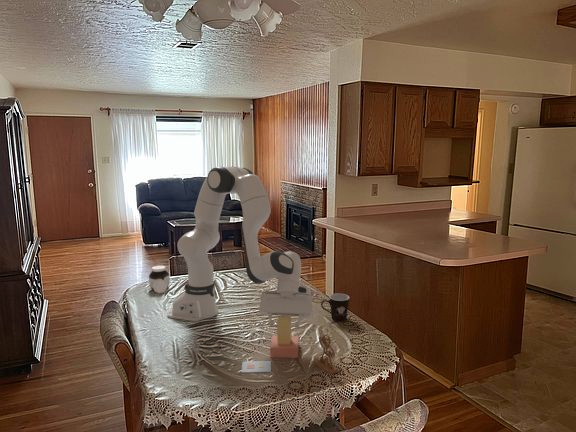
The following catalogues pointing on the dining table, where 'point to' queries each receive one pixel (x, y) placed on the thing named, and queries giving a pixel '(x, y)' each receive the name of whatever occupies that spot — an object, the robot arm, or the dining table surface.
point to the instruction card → (256, 366)
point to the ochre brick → (284, 330)
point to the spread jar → (159, 279)
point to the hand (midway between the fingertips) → (284, 326)
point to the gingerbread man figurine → (322, 362)
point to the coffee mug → (338, 306)
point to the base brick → (284, 348)
